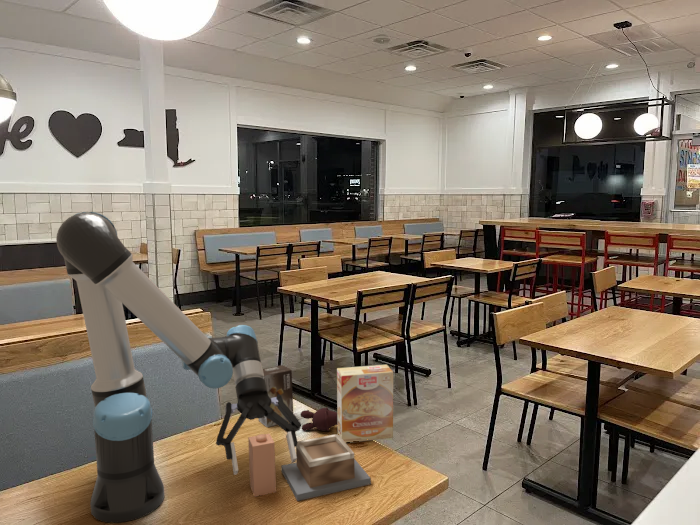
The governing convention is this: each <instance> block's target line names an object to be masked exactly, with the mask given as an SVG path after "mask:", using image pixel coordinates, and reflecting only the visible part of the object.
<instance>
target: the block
mask: <svg viewBox="0 0 700 525" xmlns="http://www.w3.org/2000/svg"><path fill="white" fill-rule="evenodd" d="M247 438H248V439H247V441H248V467H249V486H250V490H251V492H252V493H253V494H252V495H253V497H259V495H260V496H263V495H268V493H269V494H273V493H276V492H277V483H276V482H277V481H276V479H277V478H276V452H275V451H276V450H275V449H276V447H275V443H276V442H275V441H274V439H273V437H272V435H271V434H270V433H265V434H264V433H263V434H262V433H261V434H257V435H253V436H248V437H247ZM272 492H273V493H272Z"/></svg>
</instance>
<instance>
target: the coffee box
mask: <svg viewBox="0 0 700 525" xmlns="http://www.w3.org/2000/svg"><path fill="white" fill-rule="evenodd" d="M292 372H293V370H292V369H291V368H289V367H287V366H285V365H283V364H280V365H275V366H272V367H271V366H270V367H266V368H263V373H264V380H265V382H266V387H267V392H268V396H269V397H270V398H273V397H277V395H278V394H280V395H281V396H282V399H283V402H284V403H285V404H286V406H287V407H288V408H289V409H290V411H291V412H292V413H293V414H294V400H293V399H294V398H293V396H294V394H293V374H292ZM270 407H271V408H272V409H273V410H274V412H276V413H277V414H278V415H280V416H281V417H282V418H283V419H285V420H286V421H288V420H287V419H286V418H285V417H284V415H283V414H282V413H281V412H280V410H279V409H278V407H277V406H275V405H274V404H273V403H271V404H270ZM257 419H258V421H259V423H261V424H262V425H263V426H265V427H266V428H271V427H274V426H278V425H277V424H276V423H274V422H273V421H272V420H270V419H268V418H267V417H265V416H264V417H262V418H257Z"/></svg>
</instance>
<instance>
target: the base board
mask: <svg viewBox="0 0 700 525" xmlns="http://www.w3.org/2000/svg"><path fill="white" fill-rule="evenodd" d="M280 468H281V473H282V475H283V477H284V478H285V481H286V480H287V481H286V483H287V484H289V485H288V487H289V488H290V490H291V492H292V493H293V496H294V498H295V500H296V501H297V502H299V501H303V500H307V499H312V498H315V497H321V496H325V495H330V494H334V493H338V492H343V491H347V490H350V489H355V488H360V487H363V486H368V485H371V484H372V478H371V477H370V476H369V474H368V473H367V472H366V471H365V469H364V468H363V467H362V465H361V464H360V463H359V462H358V461H357V460H356V459H355V458H354V468H355V478H353V479H348V480H344V481H339V482H335V483H330V484H326V485H321V486H317V487H312V488H310V487H309V485H308V484H307V482H306V480H305V479H304V477H303V475H302V474H301V472H300V470H299V469H298V467H297V461H295V462H293V463H292V462H291V463H288V464H287V463H286V464H281V466H280Z"/></svg>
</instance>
